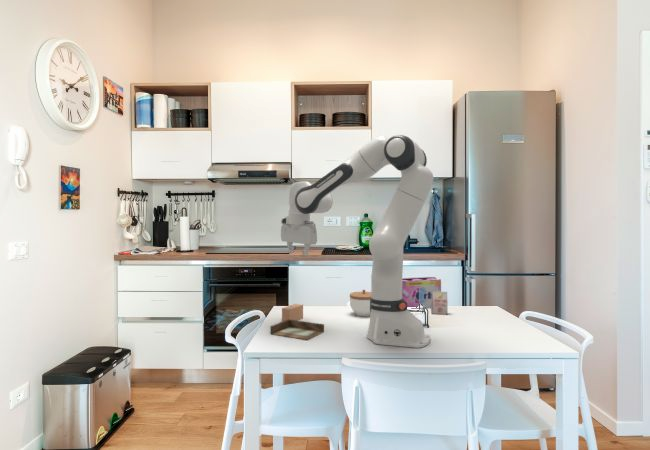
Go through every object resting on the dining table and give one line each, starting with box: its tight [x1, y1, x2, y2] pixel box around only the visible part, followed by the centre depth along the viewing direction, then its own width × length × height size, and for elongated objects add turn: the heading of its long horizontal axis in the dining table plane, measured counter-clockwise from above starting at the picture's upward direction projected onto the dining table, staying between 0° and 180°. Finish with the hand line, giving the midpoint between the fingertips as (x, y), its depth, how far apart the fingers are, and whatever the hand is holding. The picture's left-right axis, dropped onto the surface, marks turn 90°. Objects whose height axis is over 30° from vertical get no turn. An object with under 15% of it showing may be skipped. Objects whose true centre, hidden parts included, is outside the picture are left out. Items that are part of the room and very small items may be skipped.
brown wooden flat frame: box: [270, 319, 325, 341], centre depth 153 cm, size 16×12×3 cm
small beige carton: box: [430, 291, 449, 316], centre depth 184 cm, size 4×7×10 cm, turn 79°
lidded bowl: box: [349, 289, 371, 317], centre depth 182 cm, size 13×13×11 cm
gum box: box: [402, 276, 442, 309], centre depth 198 cm, size 24×8×14 cm, turn 103°
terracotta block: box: [281, 303, 304, 322], centre depth 172 cm, size 4×10×6 cm, turn 151°
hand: (298, 254), depth 170 cm, fingers open, 8 cm apart
